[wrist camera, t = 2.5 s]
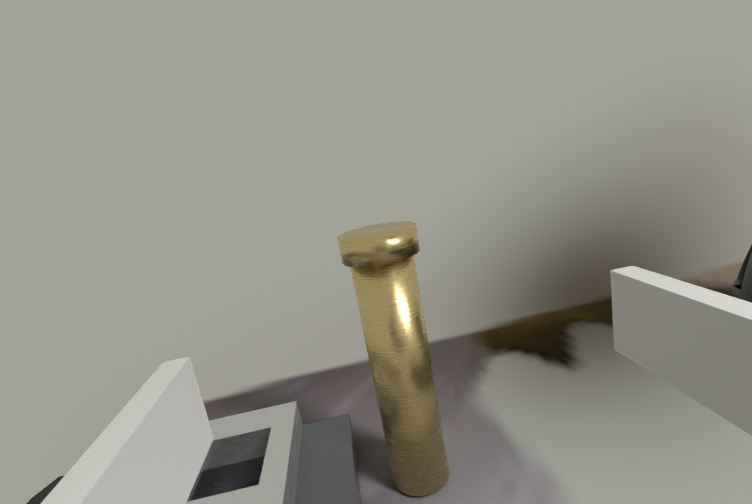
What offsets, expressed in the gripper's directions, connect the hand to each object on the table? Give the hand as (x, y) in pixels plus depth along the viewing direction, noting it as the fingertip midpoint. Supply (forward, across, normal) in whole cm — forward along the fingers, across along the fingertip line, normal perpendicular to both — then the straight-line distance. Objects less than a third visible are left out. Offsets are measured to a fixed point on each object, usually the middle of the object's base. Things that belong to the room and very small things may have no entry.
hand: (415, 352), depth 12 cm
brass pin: (+11, +1, -14) cm, 18 cm away
